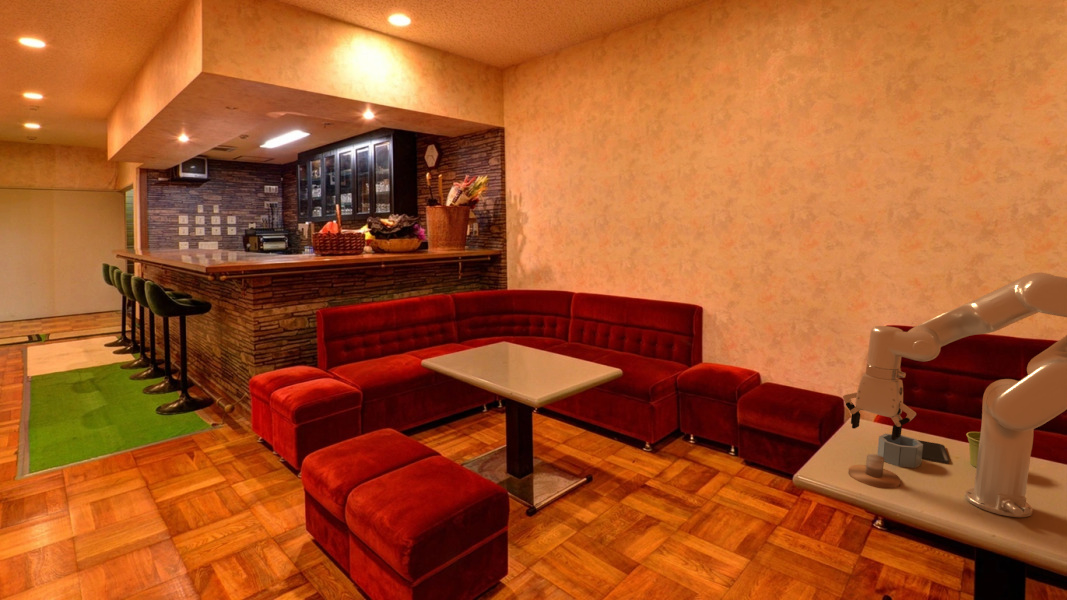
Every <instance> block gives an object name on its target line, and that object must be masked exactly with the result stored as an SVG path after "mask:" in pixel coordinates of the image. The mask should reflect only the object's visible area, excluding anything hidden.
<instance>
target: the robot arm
mask: <svg viewBox="0 0 1067 600" xmlns="http://www.w3.org/2000/svg"><path fill="white" fill-rule="evenodd" d="M1038 313H1041V314H1045V315H1051V316H1052V315H1053V316H1057V317H1063V318H1067V277H1065V276H1059V275H1054V274H1050V273H1047V272H1034V273H1030V274H1027V275H1024V276H1022V277H1020V278H1018V279H1016V280H1014V281H1011V282H1009V283H1008V284H1007V283H1006V284H1005V285H1003V286H1001V287H998V288H997V289H995V290H993V291H991V292H988V293H987V294H984V295H982V296H980V297H978V298H976V299H974V300H971V301H969V302H967V303H965V304H962V305H959V306H958V307H956V308H954V309H951V310H948V311H947V312H943V313H941V314H939V315H937V316H934V317H933V318H930V319H928V320H926V321H924V322H923V323H920V324H918V325H916V326H914V327H912V328H910V329H909V330H908V331H904V330H903V329H901V328H899V327H894V326H887V325H876V326H873V327H872V328H871V330H870V334H869V343H868V351H867V357H866V358H867V359H866V366H865V372H864V373H863V374H862V375H861V378H860V381H859V383H858V384H859V385H858V387H857V392H854V393H847V394H844V395H843V397H842V398H843V400H844V403H845V406H846V408H847V409H848V410H849V413H850V414H851V416H850V417H851V419H850V424H851V428H852V429H856V428H858V427H859V426H860V420H861V413H860V411H865V412H868V413H870V414H876V415H878V416H882V417H886V418H891V420H892V422H893V423H894V424H893V425H892V431H891V434H892V437H891V439H892V440H896V439H898V438H899V437H900V436H901V435H902V428H903V425H906V424H908V423H910V422H911V421H912V420H913V419H914V418H915V417H916V416H917V412H916V411H914V409H912V408H910V407H909V406H907V405H906V404H905V403H904V383H903V379H904V378H906V375H907V374H906V373H907V372H903V371H902V368H901V363H902V358H905V359H909V360H913V361H918V362H928V361H929V362H930V361H932V360H934V359H936V358H937V357H938V356H939V355H940V353H941V348H942V347H944V346H946V345H949V344H950V343H953V342H955V341H958V340H961V339H963V338H967V337H969V336H970V337H971V336H975V335H985V334H986V335H987V334H990V333H994V332H997V331H1000V330H1002V329H1004V328H1006V327H1008V326H1010V325H1013V324H1015V323H1017V322H1020V321H1022V320H1024V319H1027V318H1029V317H1032V316H1034V315H1036V314H1038ZM1026 372H1027V375H1026V376H1024V377H1023V378H1021V379H1020V380H1017V379H1012V378H1004V379H1003V378H1002V379H998V380H995V381H994V382H991V383H990V384H989V385H988V386H987V387H986V388H985V390H984V393H983V397H982V407H981V408H982V409H981V411H982V412H981V427H980V432H981V435H980V442H979V450H978V459H977V467H975V468H976V469H975V477H974V486H973V488H968V489H967V490H966V491H965V493H964V494H965V495H964V497H965V499H966V500H967V502H969V503H971V504H972V505H973V506H975V507H977V508H979V509H982V510H984V511H987V512H990V513H992V514H997V515H1000V516H1003V517H1004V516H1005V517H1010V518H1028V517H1030V516H1032V515H1033V507H1032V506H1031V504H1029V503H1028V502H1027V498H1026V494H1027V488H1028V486H1027V484H1028V477H1029V470H1030V462H1031V455H1032V450H1033V444H1034V431H1035V429H1036V428H1037V429H1038V427H1039V428H1040V427H1041V426H1043V425H1044V424H1046V423H1047V422H1049V421H1051V420H1053V419H1055V418H1056V417H1057V416H1059V415H1060V414H1062V413H1064V412H1065V411H1067V334H1066V335H1065V336H1063V337H1062V338H1060V339H1059V340H1058V341H1055V343H1053V344H1052V345H1050V346H1049V347H1048V348H1046V349H1044V350H1043V351H1042V352H1040V353H1039V354H1037V355H1035V356H1034V357H1032V358H1031V359H1030V361H1029V362H1028V364H1027V367H1026ZM901 378H902V379H901ZM852 399H855V404H854V403H853V402H852ZM902 412H903V413H906V416H905V417H904V418H903V417H902V416H901V414H902Z"/></svg>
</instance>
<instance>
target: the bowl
mask: <svg viewBox="0 0 1067 600" xmlns="http://www.w3.org/2000/svg"><path fill="white" fill-rule="evenodd" d="M891 437H892V433H883V434H882V435H879V436H878V445H877V454H876V455H879V456H882V457H883V458H884V463H887V464H890V465H893V466H895V467H901V468H902V467H903V468H910V469H911V468H913V469H915V468H917V467H919V466H921V465H922V461H923V460H922V451H923V444H922V443H921V442H919V441H918V440H919V439H917V438H914V437H910V436H906V435H903V434H901V436H900V437H899V438H898V439H896V440H892V439H891Z"/></svg>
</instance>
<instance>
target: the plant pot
mask: <svg viewBox="0 0 1067 600" xmlns="http://www.w3.org/2000/svg"><path fill="white" fill-rule="evenodd" d="M965 435H966V437H967V440H968V446H969V463H970V464H971V466H973V467H974V468H976V467H977V459H978V450H979V442H980V435H981V431H969V432H967V433H966V434H965Z"/></svg>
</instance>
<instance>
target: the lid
mask: <svg viewBox="0 0 1067 600" xmlns="http://www.w3.org/2000/svg"><path fill="white" fill-rule="evenodd" d="M884 464H885V462H884V458H883V457H882V456H879V455H877V454H874V453H869V454H867V455H866V461H865V464H855V465H854V464H853V465H851V466H849V467H848V471H847V472H848V475H849V477H851V478H852V479H854V480H855V481H857V482H859V483H861V484H864V485H868V486H871V487H875V488H882V489H893V488H897V487H899V486H900V485H901V478H900V476H898V474H896V473H894V472H893V471H890V470H888V469H886V468H884Z"/></svg>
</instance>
